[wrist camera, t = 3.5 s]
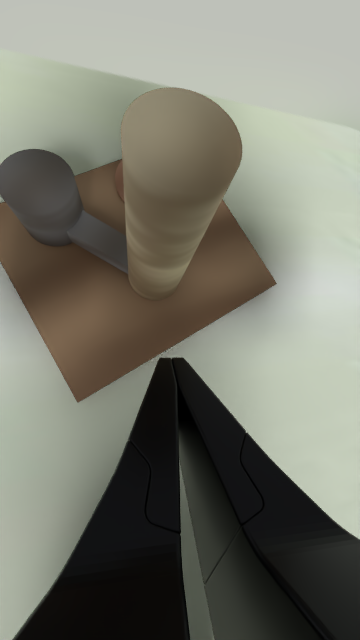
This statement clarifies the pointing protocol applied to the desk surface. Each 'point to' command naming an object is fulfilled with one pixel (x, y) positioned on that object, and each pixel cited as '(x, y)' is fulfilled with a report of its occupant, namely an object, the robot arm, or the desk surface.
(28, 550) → the desk surface
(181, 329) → the brown board
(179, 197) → the crank handle
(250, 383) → the desk surface
